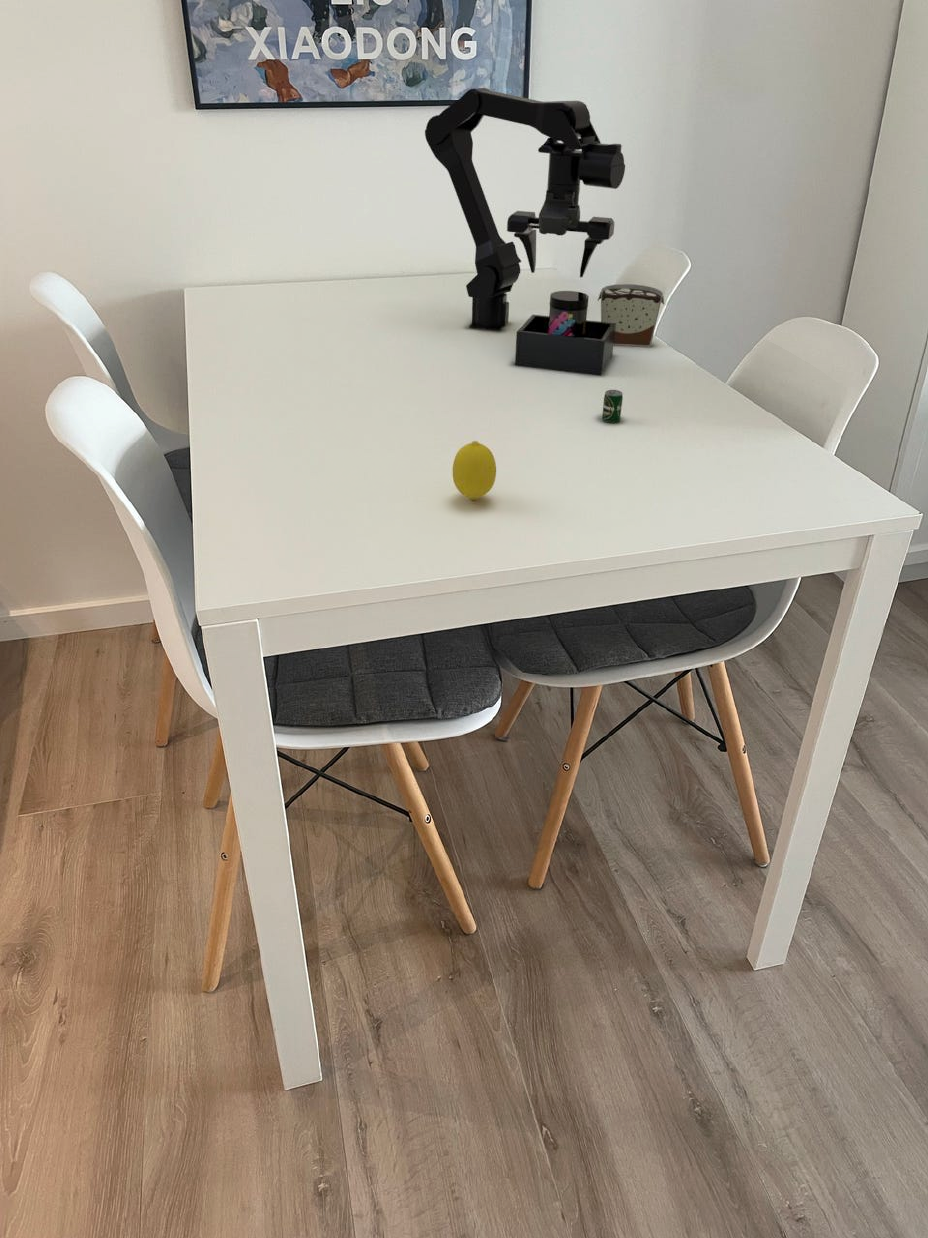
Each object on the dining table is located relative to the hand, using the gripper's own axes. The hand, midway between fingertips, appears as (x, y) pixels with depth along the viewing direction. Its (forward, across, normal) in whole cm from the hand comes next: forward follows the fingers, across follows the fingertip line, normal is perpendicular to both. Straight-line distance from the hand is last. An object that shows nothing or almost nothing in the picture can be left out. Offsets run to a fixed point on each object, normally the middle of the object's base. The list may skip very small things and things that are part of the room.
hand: (557, 274), depth 170 cm
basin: (+12, +5, -12) cm, 18 cm away
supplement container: (+11, +5, -12) cm, 17 cm away
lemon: (+12, +6, -72) cm, 73 cm away
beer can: (+12, +18, -38) cm, 44 cm away
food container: (+12, +14, +4) cm, 19 cm away
